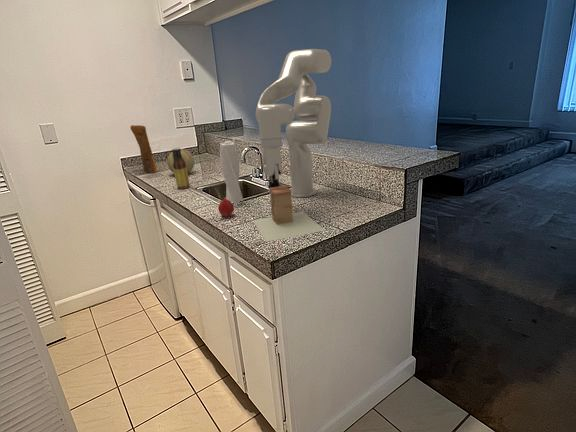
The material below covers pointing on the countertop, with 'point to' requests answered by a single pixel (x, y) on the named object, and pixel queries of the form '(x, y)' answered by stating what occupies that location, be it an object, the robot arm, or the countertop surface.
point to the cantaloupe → (187, 158)
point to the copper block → (281, 204)
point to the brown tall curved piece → (144, 148)
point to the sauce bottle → (180, 170)
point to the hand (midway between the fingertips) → (274, 192)
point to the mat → (287, 227)
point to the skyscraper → (230, 170)
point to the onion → (226, 207)
